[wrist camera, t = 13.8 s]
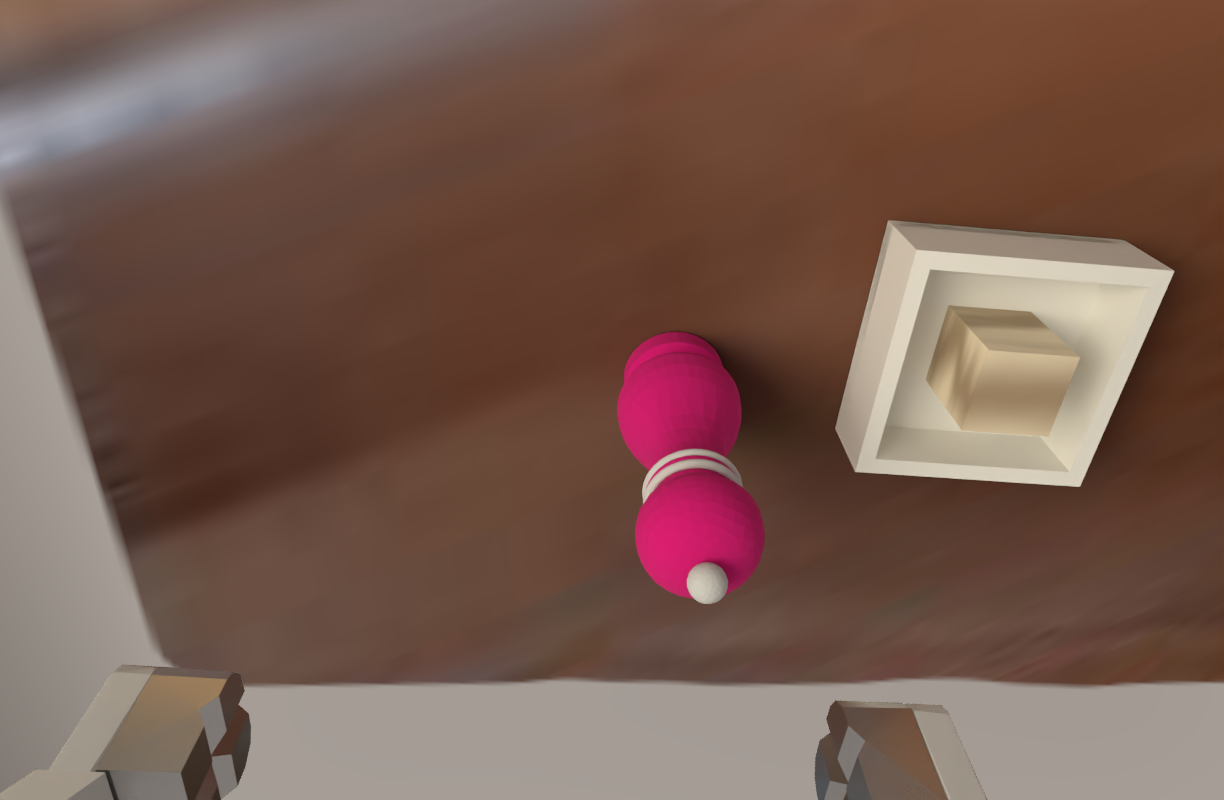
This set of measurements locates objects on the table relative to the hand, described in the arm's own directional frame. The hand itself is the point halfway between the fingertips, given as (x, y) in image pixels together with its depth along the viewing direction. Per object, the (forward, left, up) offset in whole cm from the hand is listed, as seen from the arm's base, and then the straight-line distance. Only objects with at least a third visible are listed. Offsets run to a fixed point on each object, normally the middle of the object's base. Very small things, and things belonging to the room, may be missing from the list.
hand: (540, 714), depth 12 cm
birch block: (+11, +25, -38) cm, 46 cm away
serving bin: (+11, +25, -39) cm, 47 cm away
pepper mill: (+15, +7, -39) cm, 42 cm away
